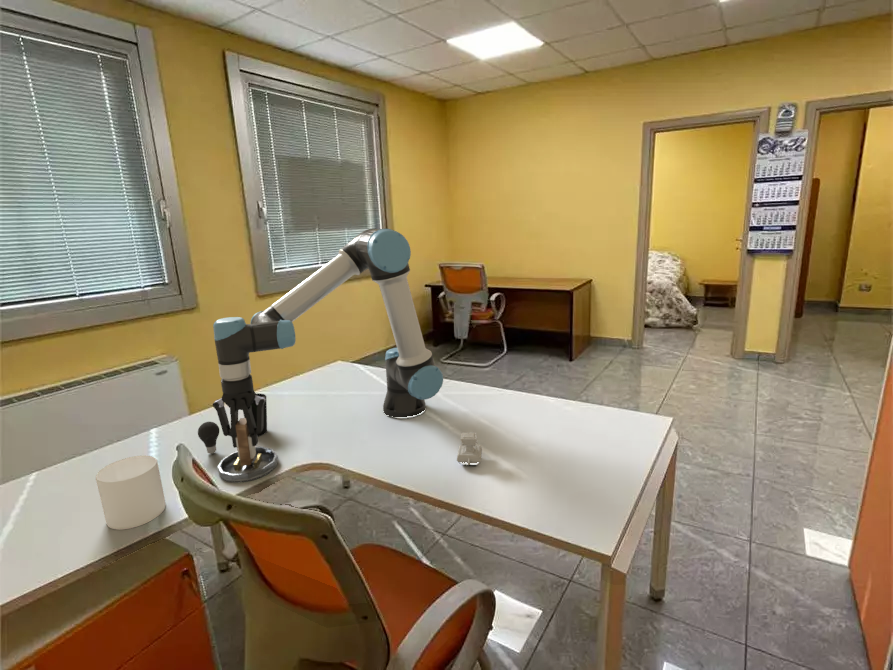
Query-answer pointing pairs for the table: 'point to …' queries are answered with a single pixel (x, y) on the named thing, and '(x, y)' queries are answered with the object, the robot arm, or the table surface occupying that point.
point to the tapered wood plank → (243, 442)
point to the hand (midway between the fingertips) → (247, 456)
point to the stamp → (469, 449)
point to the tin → (248, 466)
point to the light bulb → (209, 435)
